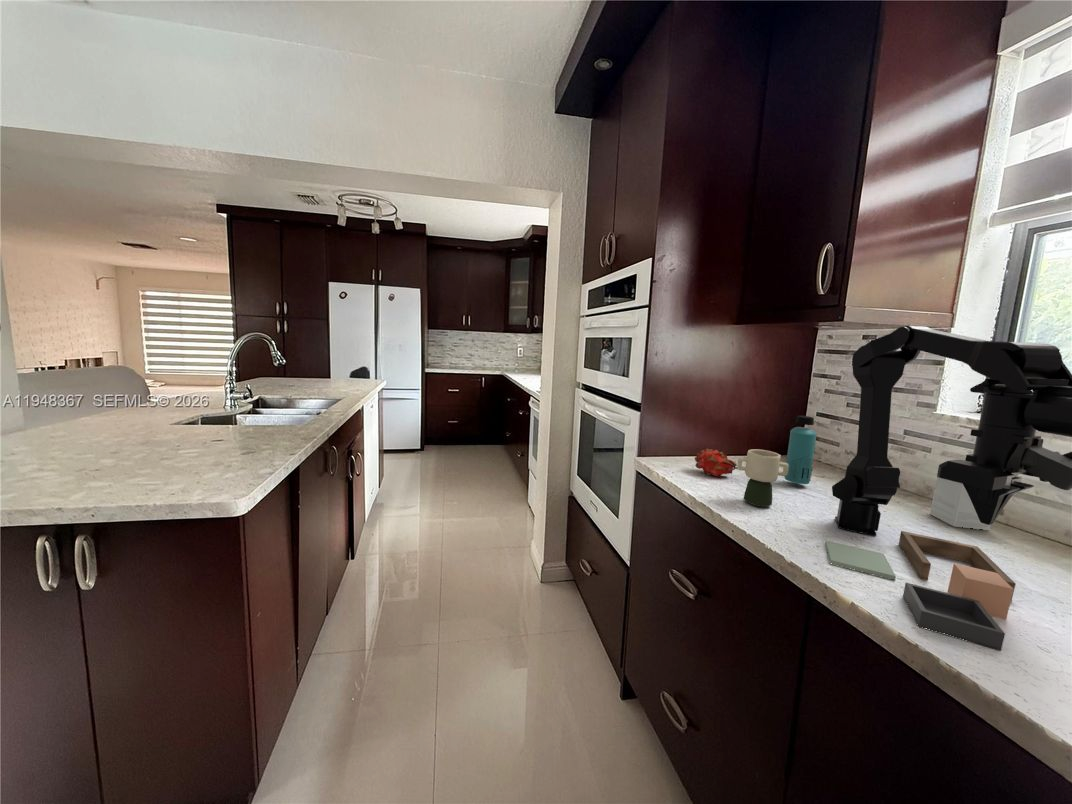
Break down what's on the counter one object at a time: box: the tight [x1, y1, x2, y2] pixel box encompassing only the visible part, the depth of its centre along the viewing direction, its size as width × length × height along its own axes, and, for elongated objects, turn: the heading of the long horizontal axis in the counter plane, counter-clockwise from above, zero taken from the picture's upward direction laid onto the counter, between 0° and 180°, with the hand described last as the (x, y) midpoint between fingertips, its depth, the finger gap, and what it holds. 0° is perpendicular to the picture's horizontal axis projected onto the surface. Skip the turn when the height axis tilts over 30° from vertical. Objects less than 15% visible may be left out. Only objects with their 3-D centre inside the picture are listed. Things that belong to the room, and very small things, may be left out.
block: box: [947, 562, 1014, 620], centre depth 63 cm, size 5×5×5 cm
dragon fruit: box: [694, 448, 738, 479], centre depth 122 cm, size 8×8×12 cm
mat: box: [824, 539, 897, 581], centre depth 75 cm, size 9×9×1 cm
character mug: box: [736, 448, 788, 508], centre depth 100 cm, size 11×7×13 cm, turn 69°
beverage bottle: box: [783, 415, 818, 485], centre depth 115 cm, size 6×7×20 cm
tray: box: [902, 582, 1006, 652], centre depth 59 cm, size 8×8×2 cm
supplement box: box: [929, 476, 992, 531], centre depth 94 cm, size 7×7×13 cm
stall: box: [898, 530, 1017, 602], centre depth 74 cm, size 11×14×3 cm
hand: (986, 523), depth 64 cm, fingers closed
